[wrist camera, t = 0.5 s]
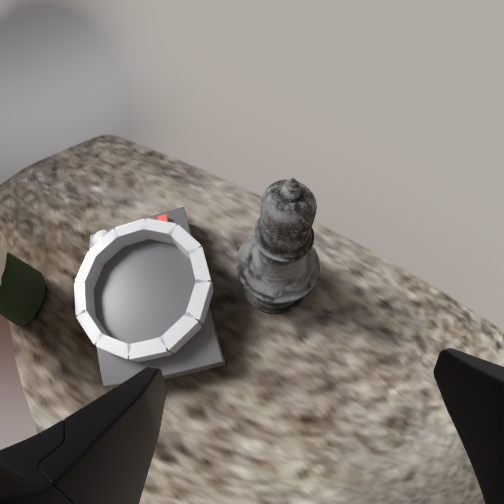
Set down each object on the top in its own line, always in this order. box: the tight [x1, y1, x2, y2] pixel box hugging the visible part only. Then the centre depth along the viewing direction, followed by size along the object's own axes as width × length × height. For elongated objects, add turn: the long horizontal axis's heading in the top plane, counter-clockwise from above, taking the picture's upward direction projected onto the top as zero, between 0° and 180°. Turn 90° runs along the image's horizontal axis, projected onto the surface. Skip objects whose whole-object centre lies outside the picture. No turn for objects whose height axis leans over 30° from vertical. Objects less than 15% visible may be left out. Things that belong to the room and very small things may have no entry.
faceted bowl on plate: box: [74, 207, 226, 388], centre depth 20 cm, size 13×10×4 cm
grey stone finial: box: [236, 178, 320, 314], centre depth 18 cm, size 6×6×12 cm
